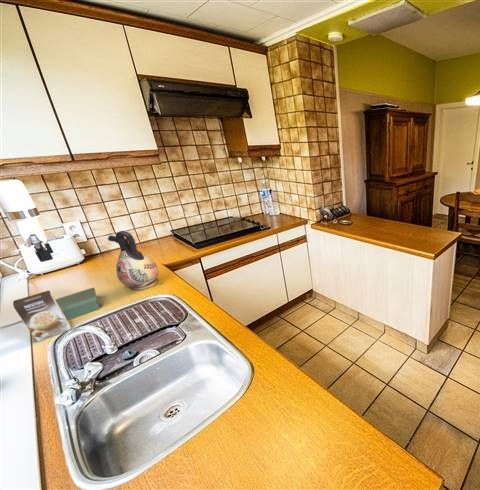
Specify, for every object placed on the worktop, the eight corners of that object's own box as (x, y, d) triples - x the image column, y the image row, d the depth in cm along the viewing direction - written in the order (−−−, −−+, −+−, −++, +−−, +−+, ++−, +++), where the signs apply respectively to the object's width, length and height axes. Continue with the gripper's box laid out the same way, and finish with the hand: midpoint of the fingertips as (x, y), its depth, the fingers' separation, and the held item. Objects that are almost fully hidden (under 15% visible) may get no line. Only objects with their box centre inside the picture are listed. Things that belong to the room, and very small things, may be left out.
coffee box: (36, 343, 98) (11, 307, 91) (36, 335, 102) (11, 301, 95) (71, 329, 104) (50, 294, 98) (70, 322, 108) (49, 289, 102)
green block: (47, 327, 106) (39, 315, 104) (49, 314, 114) (42, 303, 112) (101, 308, 117) (95, 296, 114) (99, 298, 124) (93, 287, 122)
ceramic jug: (116, 292, 128) (87, 235, 116) (147, 276, 142) (124, 224, 130) (143, 296, 124) (116, 236, 112) (172, 279, 138) (151, 225, 126)
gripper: (9, 213, 99) (34, 254, 106) (3, 221, 88) (31, 267, 95) (40, 208, 104) (61, 248, 111) (37, 216, 93) (61, 259, 100)
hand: (47, 257), depth 103 cm, fingers open, 9 cm apart
